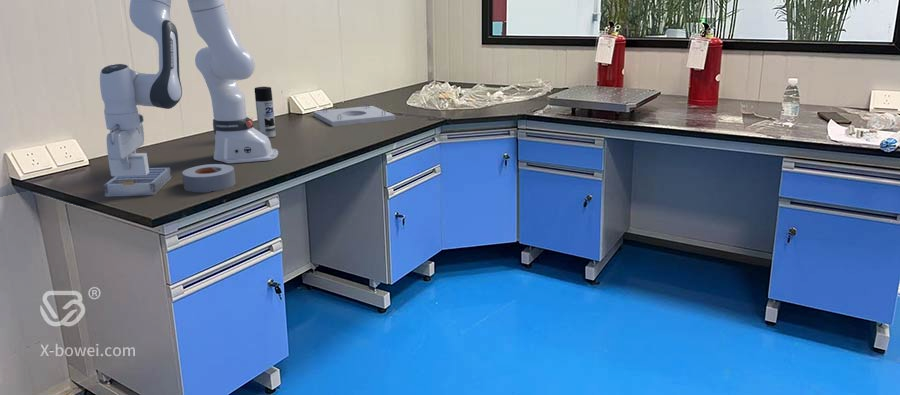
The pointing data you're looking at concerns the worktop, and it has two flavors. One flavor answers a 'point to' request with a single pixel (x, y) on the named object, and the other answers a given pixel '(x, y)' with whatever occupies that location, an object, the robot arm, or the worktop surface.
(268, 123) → the spray can
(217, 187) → the tape roll
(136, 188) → the rack
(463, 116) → the worktop surface
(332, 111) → the mounting panel
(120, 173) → the panel
